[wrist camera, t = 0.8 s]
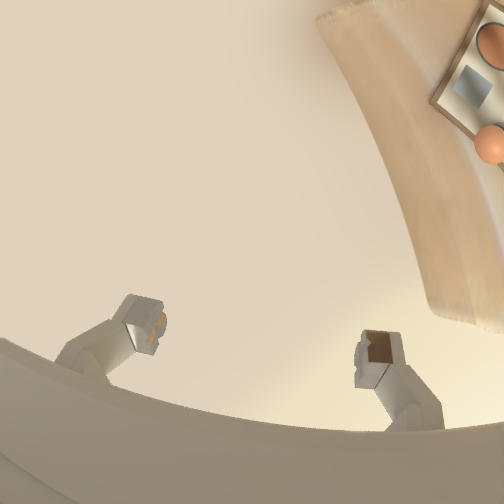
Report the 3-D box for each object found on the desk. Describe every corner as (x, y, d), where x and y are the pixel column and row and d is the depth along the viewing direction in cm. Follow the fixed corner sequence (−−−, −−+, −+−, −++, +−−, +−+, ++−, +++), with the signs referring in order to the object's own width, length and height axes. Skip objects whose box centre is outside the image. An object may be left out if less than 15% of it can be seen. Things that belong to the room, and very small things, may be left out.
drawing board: (487, -2, 22) (485, -5, 22) (575, 67, 17) (576, 66, 16) (431, 103, 39) (428, 103, 39) (506, 172, 34) (506, 174, 33)
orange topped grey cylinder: (498, 115, 31) (486, 118, 24) (519, 135, 29) (514, 145, 22) (484, 136, 34) (467, 145, 27) (504, 156, 32) (494, 172, 26)
